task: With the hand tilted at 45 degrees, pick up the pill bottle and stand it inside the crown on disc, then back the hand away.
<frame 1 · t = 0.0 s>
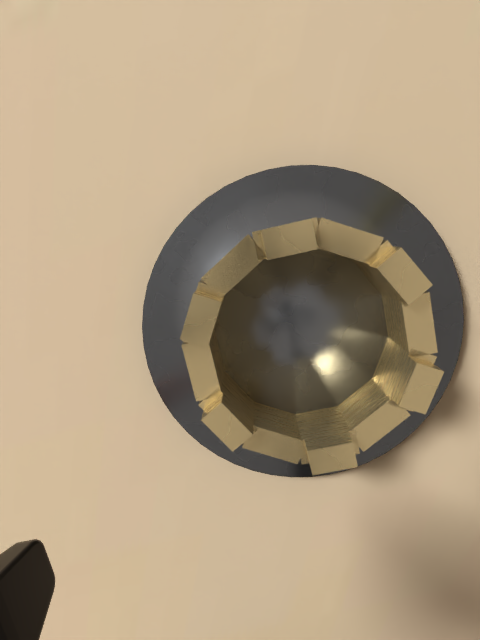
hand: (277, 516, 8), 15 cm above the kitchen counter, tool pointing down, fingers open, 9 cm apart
crown on disc: (298, 328, 22), on the kitchen counter
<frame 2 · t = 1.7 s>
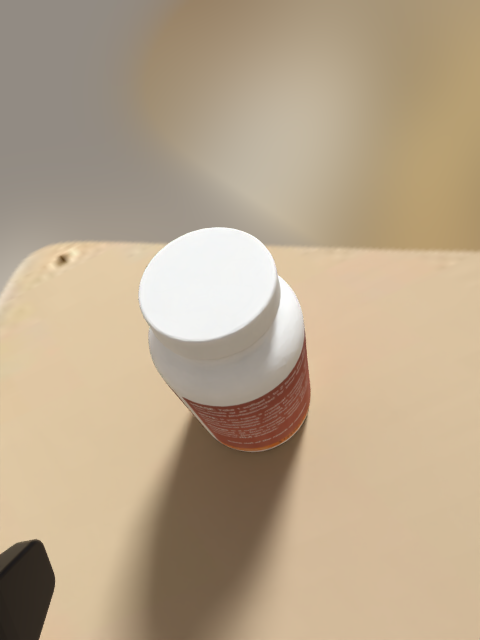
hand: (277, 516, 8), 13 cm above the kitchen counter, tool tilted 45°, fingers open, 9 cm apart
pill bottle: (254, 398, 23), on the kitchen counter
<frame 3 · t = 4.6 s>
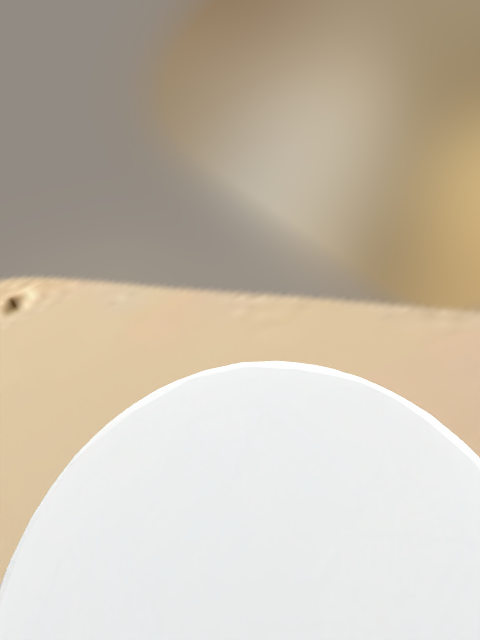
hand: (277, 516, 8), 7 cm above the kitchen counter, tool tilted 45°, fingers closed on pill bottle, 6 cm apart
pill bottle: (309, 597, 13), on the kitchen counter, touching gripper
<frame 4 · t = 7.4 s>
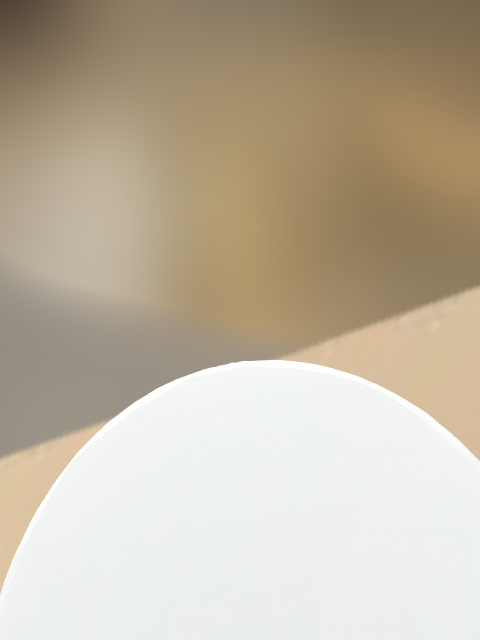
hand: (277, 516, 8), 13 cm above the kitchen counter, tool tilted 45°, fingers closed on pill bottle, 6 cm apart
pill bottle: (306, 595, 13), point 6 cm above the kitchen counter, touching gripper
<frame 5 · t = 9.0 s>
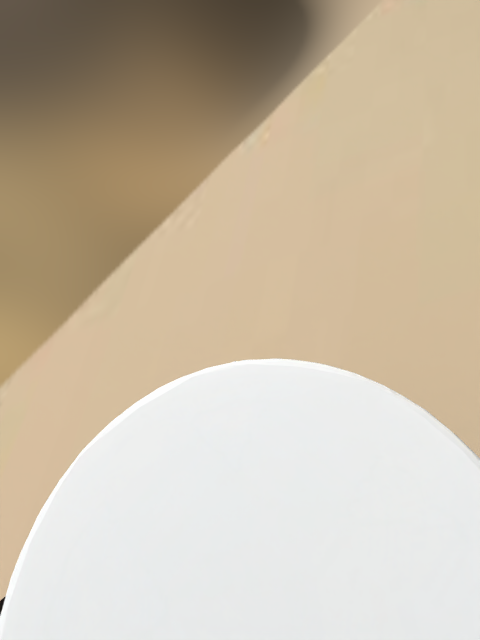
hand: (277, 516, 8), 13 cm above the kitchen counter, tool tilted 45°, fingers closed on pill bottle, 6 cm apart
pill bottle: (308, 593, 13), point 6 cm above the kitchen counter, touching gripper
when the fingers open (9 cm above the kitchen counter, at t = 10.2 s): pill bottle drops 1 cm, resting on crown on disc.
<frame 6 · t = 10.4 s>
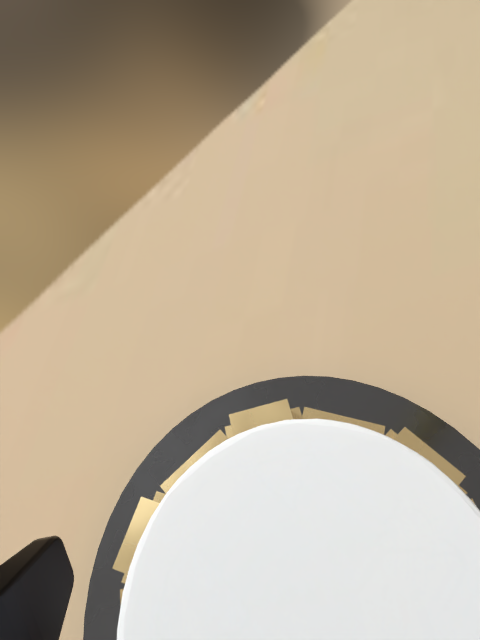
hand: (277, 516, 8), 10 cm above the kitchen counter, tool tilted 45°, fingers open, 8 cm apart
pill bottle: (310, 600, 14), point 1 cm above the kitchen counter, touching crown on disc
crown on disc: (311, 595, 15), on the kitchen counter
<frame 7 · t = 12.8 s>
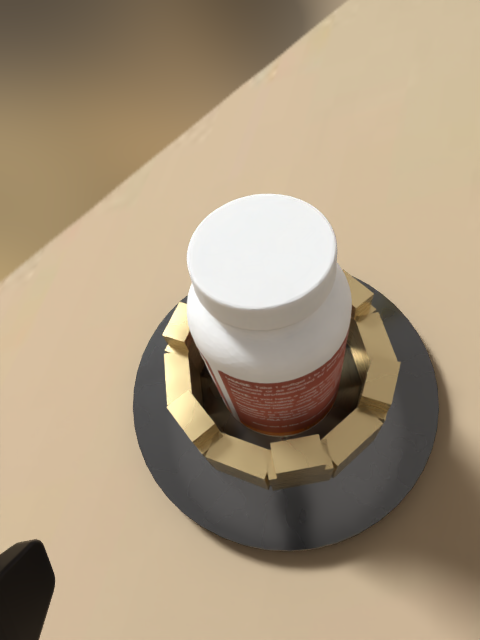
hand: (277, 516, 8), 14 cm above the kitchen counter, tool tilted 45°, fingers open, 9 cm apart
pill bottle: (278, 383, 22), point 1 cm above the kitchen counter, touching crown on disc
crown on disc: (279, 386, 23), on the kitchen counter
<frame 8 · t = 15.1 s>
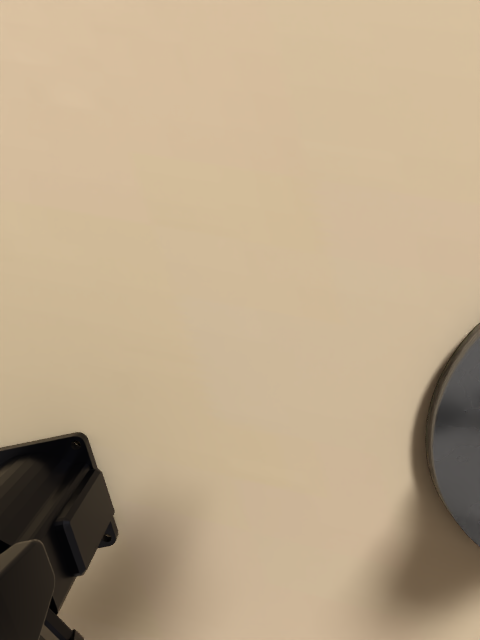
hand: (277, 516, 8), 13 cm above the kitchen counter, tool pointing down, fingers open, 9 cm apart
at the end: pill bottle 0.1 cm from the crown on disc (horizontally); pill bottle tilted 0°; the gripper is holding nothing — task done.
